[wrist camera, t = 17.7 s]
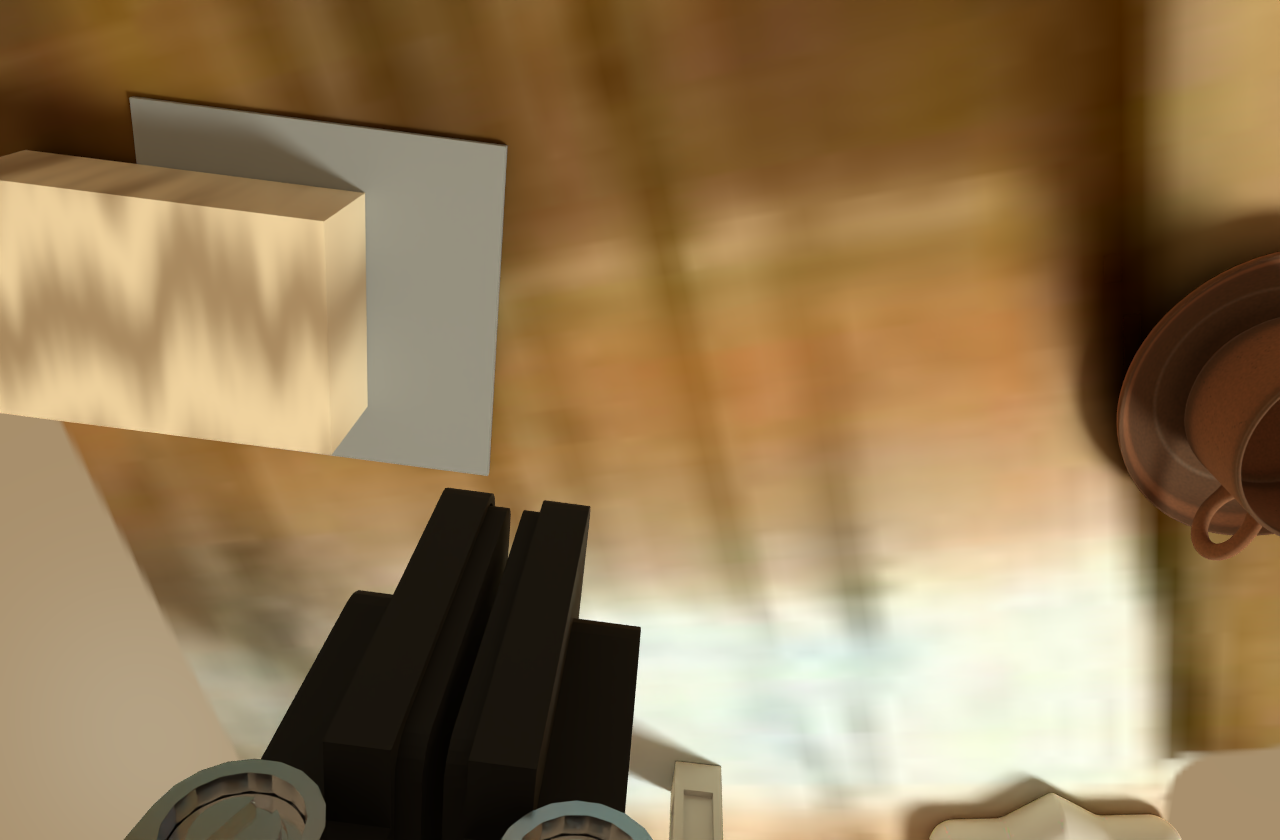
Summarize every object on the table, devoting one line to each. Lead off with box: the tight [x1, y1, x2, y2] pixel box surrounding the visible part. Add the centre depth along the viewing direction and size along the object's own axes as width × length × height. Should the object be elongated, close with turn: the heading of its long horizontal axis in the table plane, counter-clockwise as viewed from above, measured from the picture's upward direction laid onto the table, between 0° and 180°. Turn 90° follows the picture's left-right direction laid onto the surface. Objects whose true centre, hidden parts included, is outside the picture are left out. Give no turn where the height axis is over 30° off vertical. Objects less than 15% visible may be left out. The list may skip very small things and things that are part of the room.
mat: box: [129, 96, 507, 476], centre depth 38 cm, size 14×14×1 cm
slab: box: [0, 150, 368, 455], centre depth 36 cm, size 9×4×13 cm
